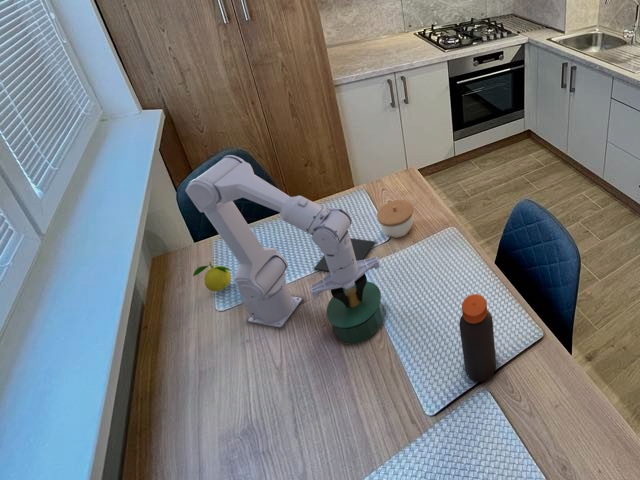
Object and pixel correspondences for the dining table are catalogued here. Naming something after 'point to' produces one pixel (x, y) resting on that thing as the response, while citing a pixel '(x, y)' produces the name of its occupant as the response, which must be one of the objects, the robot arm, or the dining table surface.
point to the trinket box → (396, 218)
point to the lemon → (215, 277)
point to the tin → (361, 329)
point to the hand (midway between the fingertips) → (353, 301)
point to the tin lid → (354, 307)
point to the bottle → (477, 339)
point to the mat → (360, 253)
